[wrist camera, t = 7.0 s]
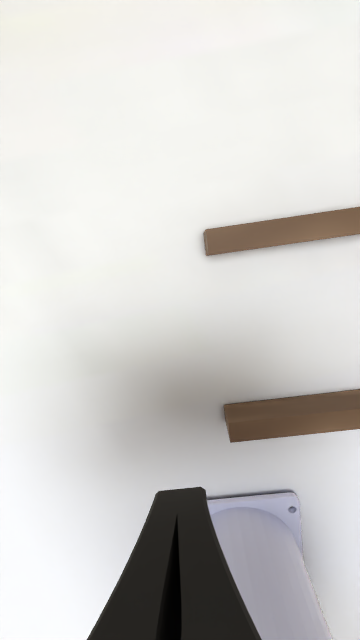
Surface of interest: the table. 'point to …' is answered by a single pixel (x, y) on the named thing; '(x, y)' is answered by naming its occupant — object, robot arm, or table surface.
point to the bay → (302, 410)
